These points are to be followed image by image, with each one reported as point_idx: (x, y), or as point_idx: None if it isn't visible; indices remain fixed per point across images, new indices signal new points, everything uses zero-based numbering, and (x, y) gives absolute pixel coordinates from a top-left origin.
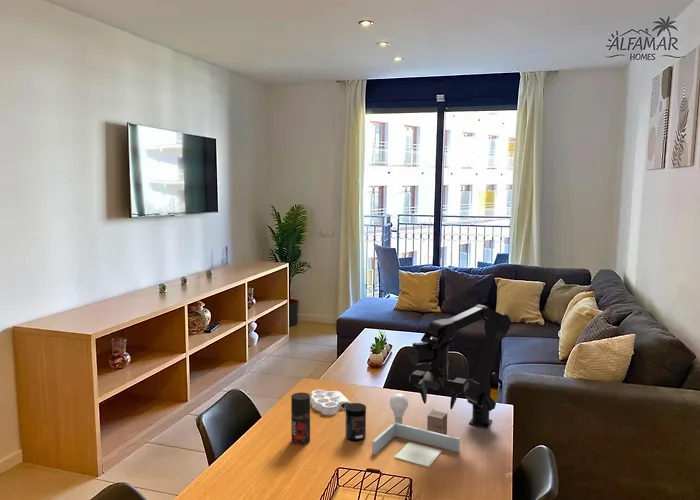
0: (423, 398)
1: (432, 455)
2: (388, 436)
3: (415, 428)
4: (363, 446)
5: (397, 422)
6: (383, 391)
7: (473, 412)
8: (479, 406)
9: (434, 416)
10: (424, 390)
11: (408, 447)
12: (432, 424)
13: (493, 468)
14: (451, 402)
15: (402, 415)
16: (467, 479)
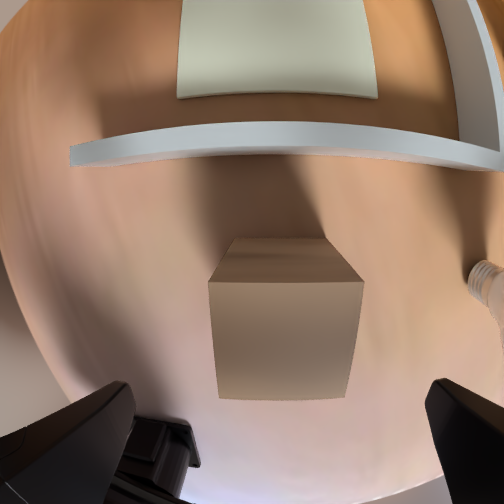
0: (477, 406)
1: (202, 29)
2: (467, 71)
3: (390, 134)
4: None
5: (488, 264)
6: None
7: (167, 466)
8: (128, 483)
9: (294, 291)
10: (502, 490)
11: (349, 41)
12: (302, 258)
13: (4, 128)
14: (64, 424)
15: (494, 290)
16: (57, 12)
